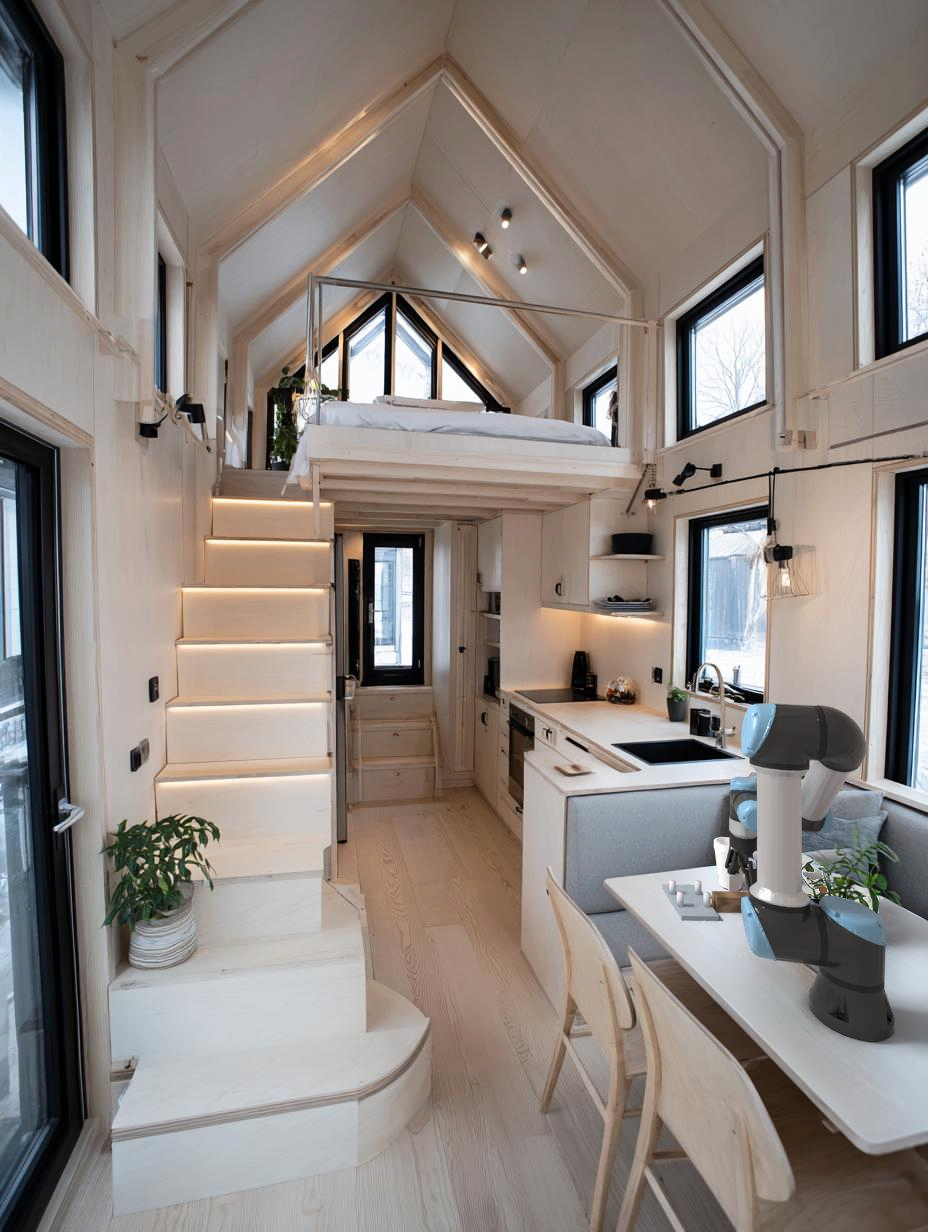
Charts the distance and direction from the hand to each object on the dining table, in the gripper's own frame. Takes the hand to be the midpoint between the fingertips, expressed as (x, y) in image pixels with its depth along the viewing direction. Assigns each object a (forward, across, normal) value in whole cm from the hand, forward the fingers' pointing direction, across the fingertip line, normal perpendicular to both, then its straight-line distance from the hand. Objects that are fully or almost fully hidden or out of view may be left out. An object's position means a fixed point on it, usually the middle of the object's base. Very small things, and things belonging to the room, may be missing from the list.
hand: (742, 908), depth 171 cm
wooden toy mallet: (0, 0, 0) cm, 0 cm away
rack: (0, +3, +14) cm, 14 cm away
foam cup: (0, +14, -2) cm, 14 cm away
